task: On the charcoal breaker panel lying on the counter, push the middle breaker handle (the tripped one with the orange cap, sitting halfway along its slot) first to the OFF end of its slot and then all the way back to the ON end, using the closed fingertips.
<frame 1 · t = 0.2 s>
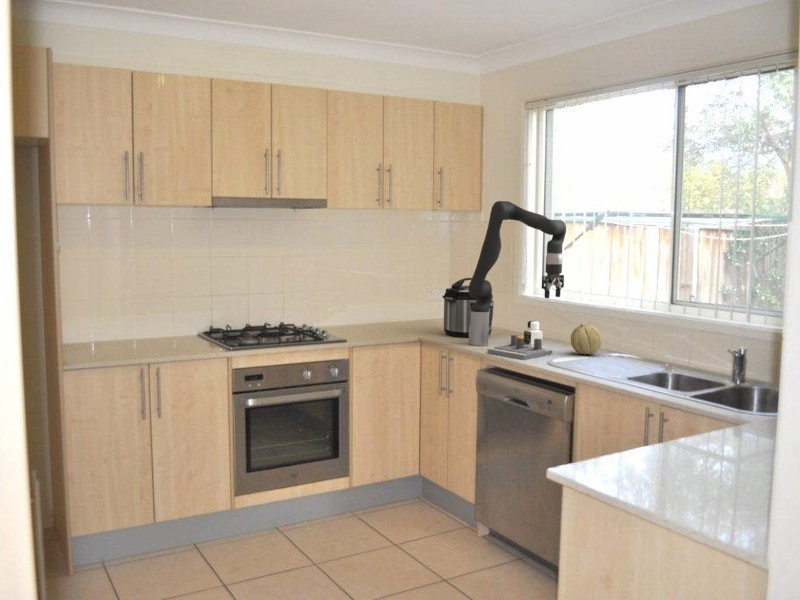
hand: (552, 297, 353), 28 cm above the countertop, tool pointing down, fingers open, 8 cm apart
pressure cooker: (468, 335, 421), on the countertop
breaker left: (514, 341, 370), point 5 cm above the countertop, slide at 4.6 cm
medicine bottle: (532, 344, 393), on the countertop
panel: (519, 353, 363), on the countertop
cantaloupe: (585, 355, 364), on the countertop
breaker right: (537, 344, 360), point 5 cm above the countertop, slide at 4.6 cm
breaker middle: (520, 343, 362), point 5 cm above the countertop, slide at 0.0 cm
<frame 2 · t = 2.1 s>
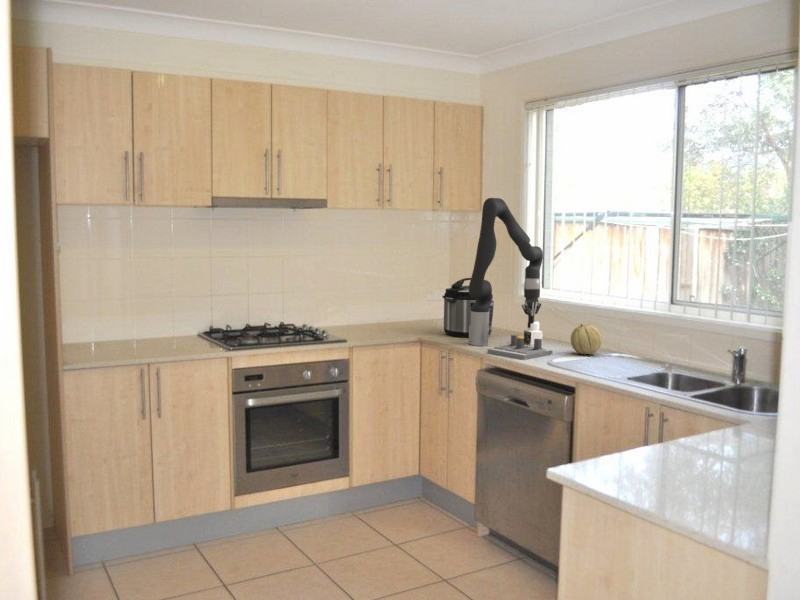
hand: (531, 323, 366), 14 cm above the countertop, tool pointing down, fingers closed
nothing on the countertop moved.
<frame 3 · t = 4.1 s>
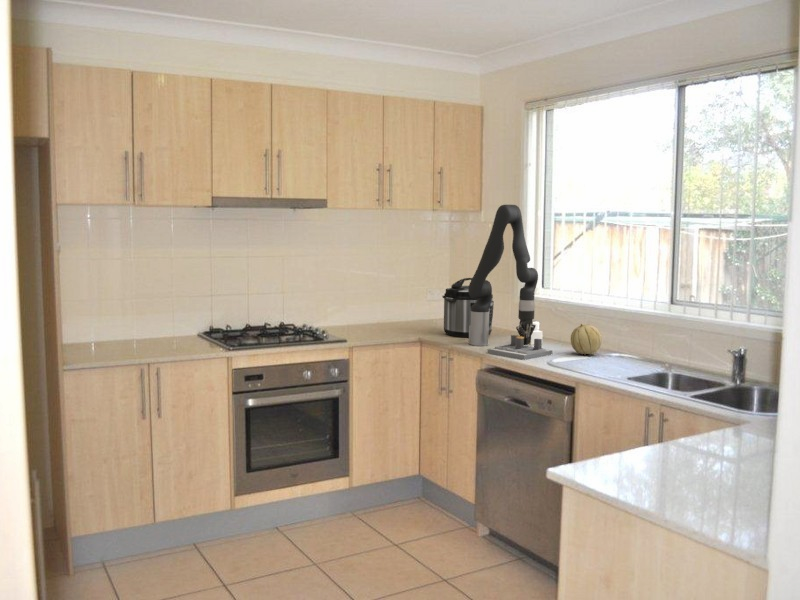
hand: (525, 344, 365), 4 cm above the countertop, tool pointing down, fingers closed
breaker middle: (520, 343, 362), point 5 cm above the countertop, slide at 0.0 cm, touching gripper
everything else where it was.
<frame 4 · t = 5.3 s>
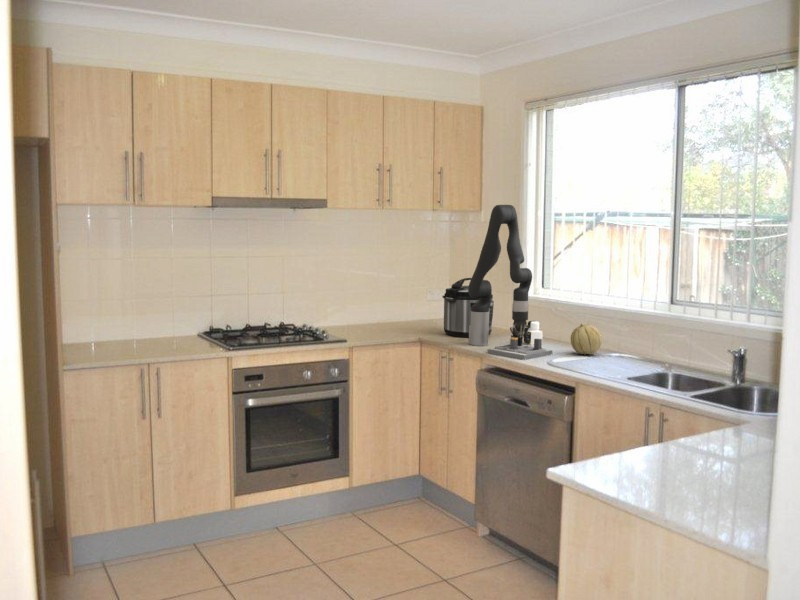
hand: (519, 345, 362), 4 cm above the countertop, tool pointing down, fingers closed
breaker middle: (513, 344, 359), point 5 cm above the countertop, slide at -4.8 cm, touching gripper
everything else where it was.
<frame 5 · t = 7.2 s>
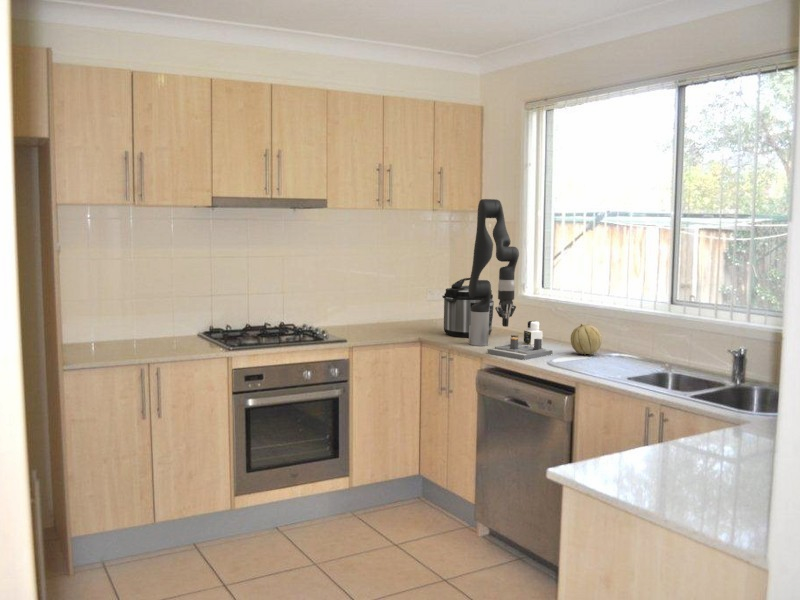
hand: (505, 326, 353), 14 cm above the countertop, tool pointing down, fingers closed
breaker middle: (514, 344, 359), point 5 cm above the countertop, slide at -4.6 cm
everything else where it was.
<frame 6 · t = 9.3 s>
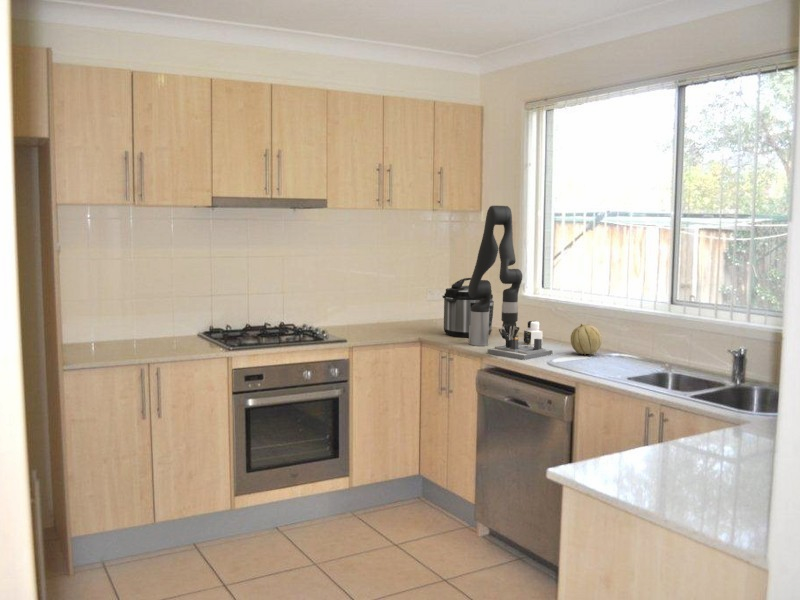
hand: (508, 347, 356), 4 cm above the countertop, tool pointing down, fingers closed
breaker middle: (514, 344, 359), point 5 cm above the countertop, slide at -4.3 cm, touching gripper
everything else where it was.
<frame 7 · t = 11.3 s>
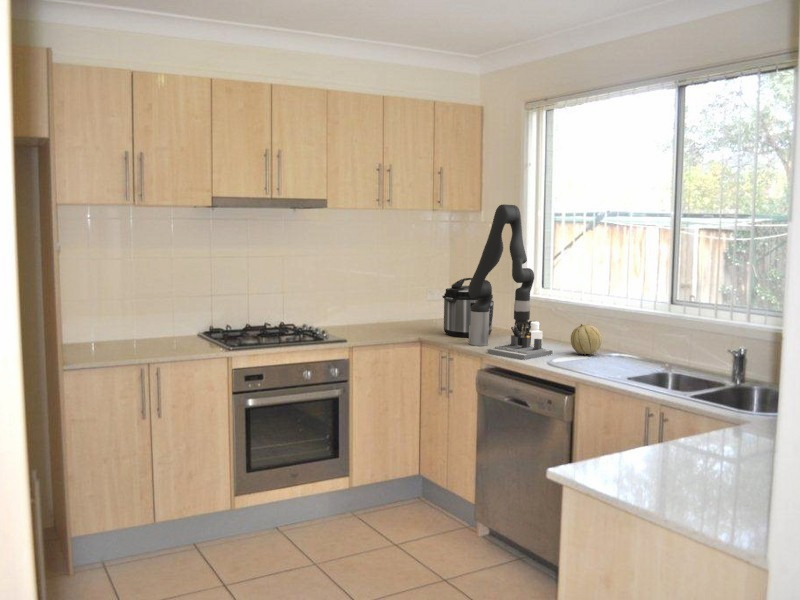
hand: (520, 345, 363), 4 cm above the countertop, tool pointing down, fingers closed
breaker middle: (526, 342, 365), point 5 cm above the countertop, slide at 4.8 cm, touching gripper
everything else where it was.
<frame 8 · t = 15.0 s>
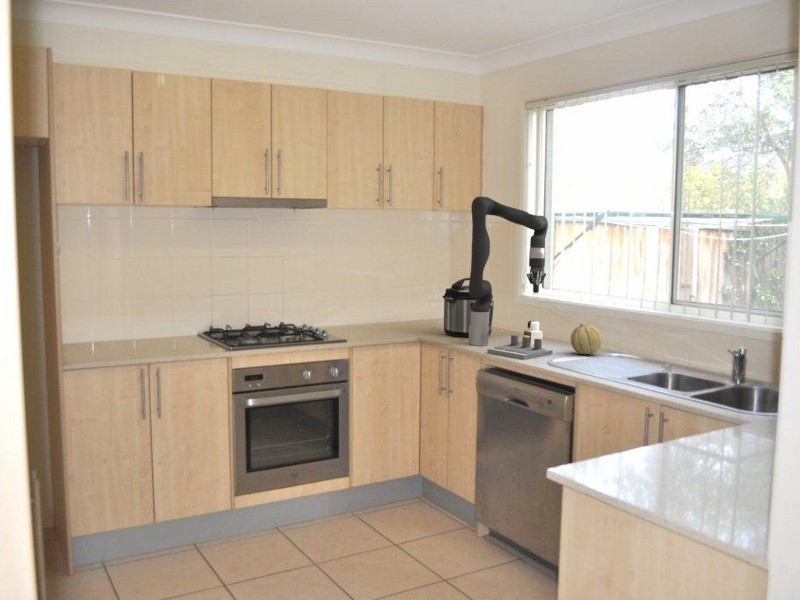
hand: (535, 292, 367), 29 cm above the countertop, tool pointing down, fingers closed
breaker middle: (526, 342, 365), point 5 cm above the countertop, slide at 4.6 cm
everything else where it was.
at the end: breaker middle slide at 4.6 cm; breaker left slide at 4.6 cm; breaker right slide at 4.6 cm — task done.
